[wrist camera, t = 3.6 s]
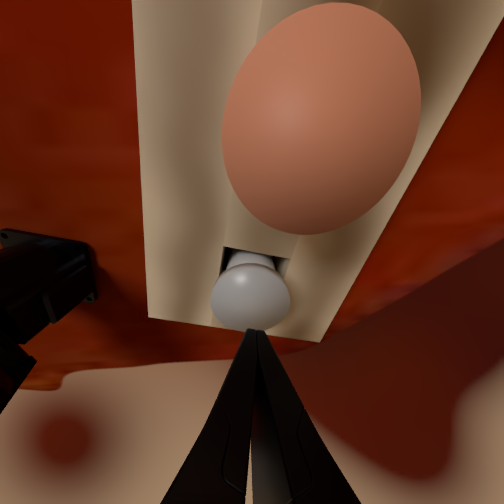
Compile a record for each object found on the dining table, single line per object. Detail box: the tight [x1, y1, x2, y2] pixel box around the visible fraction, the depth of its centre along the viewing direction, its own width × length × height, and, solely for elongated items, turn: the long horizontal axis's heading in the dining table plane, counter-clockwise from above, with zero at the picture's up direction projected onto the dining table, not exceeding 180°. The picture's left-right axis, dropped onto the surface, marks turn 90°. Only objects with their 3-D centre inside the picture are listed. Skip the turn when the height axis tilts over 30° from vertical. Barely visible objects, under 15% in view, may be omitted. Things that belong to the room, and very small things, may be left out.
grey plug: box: [210, 248, 290, 332], centre depth 13 cm, size 5×5×6 cm
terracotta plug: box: [222, 2, 421, 235], centre depth 7 cm, size 5×5×6 cm
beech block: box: [132, 0, 504, 342], centre depth 11 cm, size 14×26×4 cm, turn 168°
